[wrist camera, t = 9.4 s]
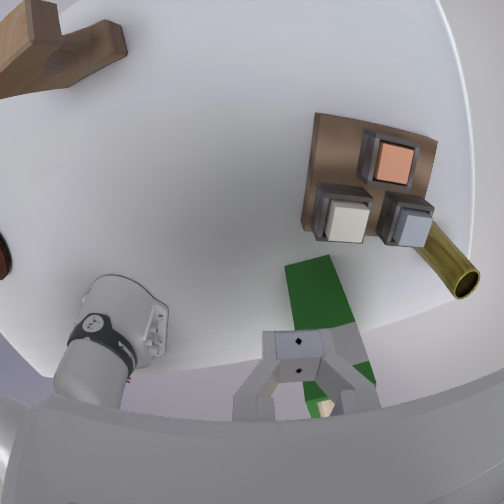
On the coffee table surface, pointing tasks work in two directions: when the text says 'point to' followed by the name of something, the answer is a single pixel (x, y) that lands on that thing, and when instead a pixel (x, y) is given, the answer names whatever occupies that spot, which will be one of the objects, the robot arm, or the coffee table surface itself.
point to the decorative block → (51, 50)
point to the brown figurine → (3, 262)
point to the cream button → (345, 220)
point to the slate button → (412, 227)
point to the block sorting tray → (363, 174)
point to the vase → (449, 263)
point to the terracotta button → (393, 162)
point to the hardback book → (325, 321)
